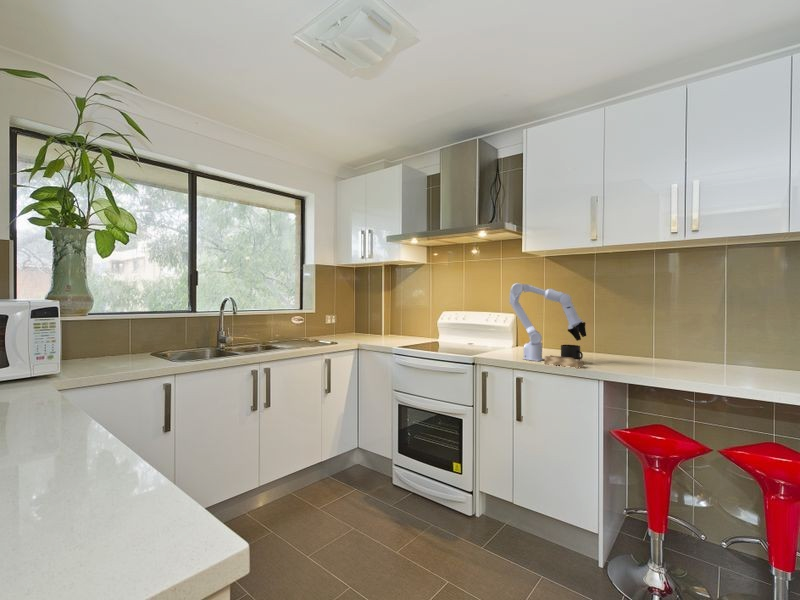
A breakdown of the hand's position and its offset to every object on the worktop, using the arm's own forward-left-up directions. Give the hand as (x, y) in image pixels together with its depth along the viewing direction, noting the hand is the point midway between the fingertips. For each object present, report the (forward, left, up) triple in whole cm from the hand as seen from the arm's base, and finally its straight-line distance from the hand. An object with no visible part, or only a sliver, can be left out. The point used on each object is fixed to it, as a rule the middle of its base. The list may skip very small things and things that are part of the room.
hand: (581, 338), depth 214 cm
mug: (-2, -7, -13) cm, 15 cm away
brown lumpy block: (-2, -17, -13) cm, 21 cm away
